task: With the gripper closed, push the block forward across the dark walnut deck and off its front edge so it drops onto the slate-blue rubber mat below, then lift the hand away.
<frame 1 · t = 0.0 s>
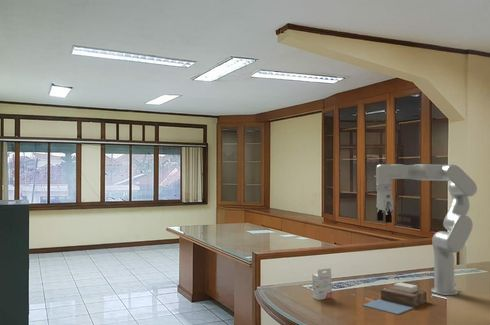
hand: (384, 221, 226), 37 cm above the table, tool pointing down, fingers open, 9 cm apart
block: (405, 290, 215), point 5 cm above the table, touching deck
deck: (403, 301, 213), on the table
ink cartridge box: (321, 298, 219), on the table
mat: (387, 307, 203), on the table
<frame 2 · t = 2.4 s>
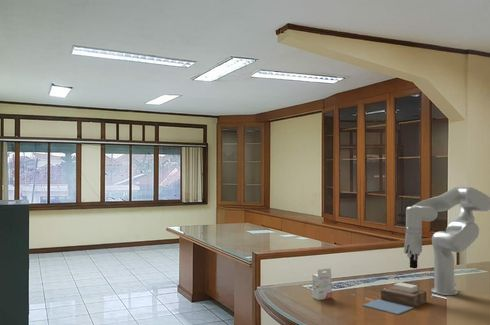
hand: (413, 267, 221), 15 cm above the table, tool pointing down, fingers closed
nothing on the table moved.
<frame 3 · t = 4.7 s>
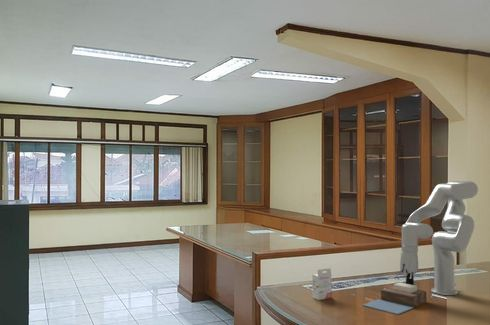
hand: (409, 286, 217), 6 cm above the table, tool pointing down, fingers closed
block: (405, 290, 214), point 5 cm above the table, touching deck, gripper
everything else where it was.
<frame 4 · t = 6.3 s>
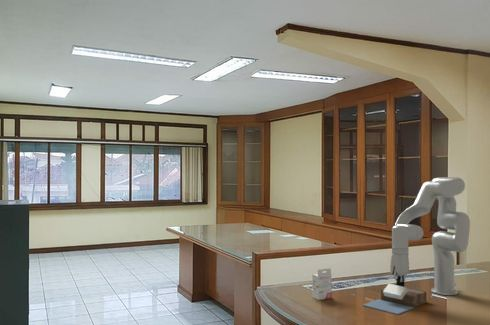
hand: (400, 289, 211), 6 cm above the table, tool pointing down, fingers closed
block: (395, 293, 208), point 5 cm above the table, tilted 29°, touching deck
everything else where it was.
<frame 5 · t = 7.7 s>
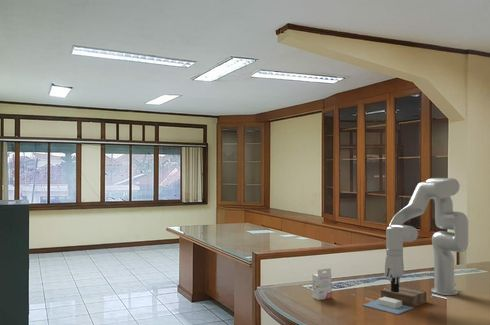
hand: (395, 291, 208), 6 cm above the table, tool pointing down, fingers closed
block: (389, 299, 205), point 3 cm above the table, tilted 180°, touching mat
everything else where it was.
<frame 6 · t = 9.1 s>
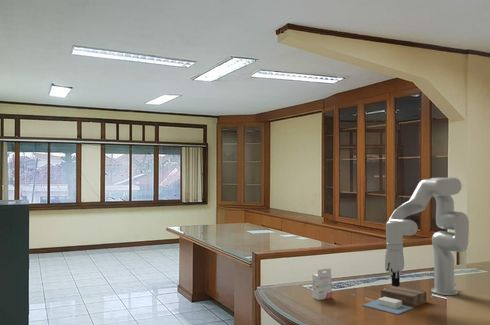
hand: (395, 285, 208), 9 cm above the table, tool pointing down, fingers closed
nothing on the table moved.
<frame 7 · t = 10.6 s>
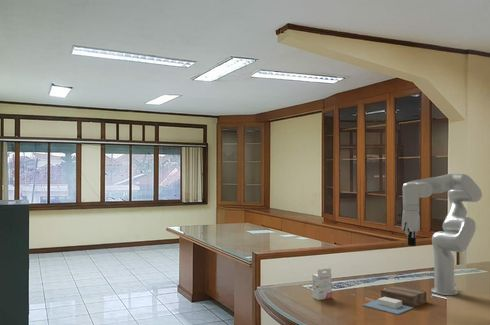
hand: (411, 245, 216), 27 cm above the table, tool pointing down, fingers closed
nothing on the table moved.
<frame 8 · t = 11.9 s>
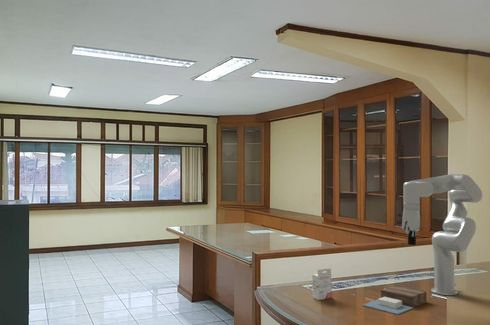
hand: (412, 244, 216), 27 cm above the table, tool pointing down, fingers closed
nothing on the table moved.
at the end: block point 3.0 cm above the table; block inside the target area (2.0 cm from its centre), point 3.0 cm above the table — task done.
